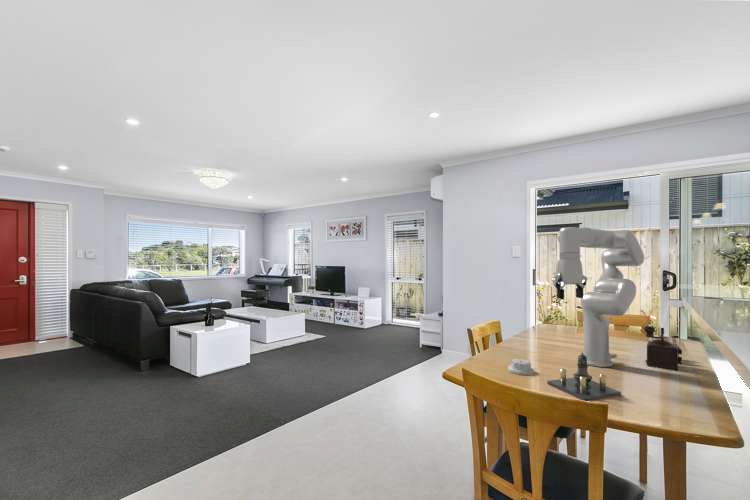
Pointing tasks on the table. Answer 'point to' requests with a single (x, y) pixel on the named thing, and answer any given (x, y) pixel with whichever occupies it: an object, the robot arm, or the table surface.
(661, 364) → the dark boxy piece
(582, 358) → the grey chess piece
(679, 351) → the end cap
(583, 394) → the standoff chassis
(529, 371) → the mechanical component
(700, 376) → the table surface
